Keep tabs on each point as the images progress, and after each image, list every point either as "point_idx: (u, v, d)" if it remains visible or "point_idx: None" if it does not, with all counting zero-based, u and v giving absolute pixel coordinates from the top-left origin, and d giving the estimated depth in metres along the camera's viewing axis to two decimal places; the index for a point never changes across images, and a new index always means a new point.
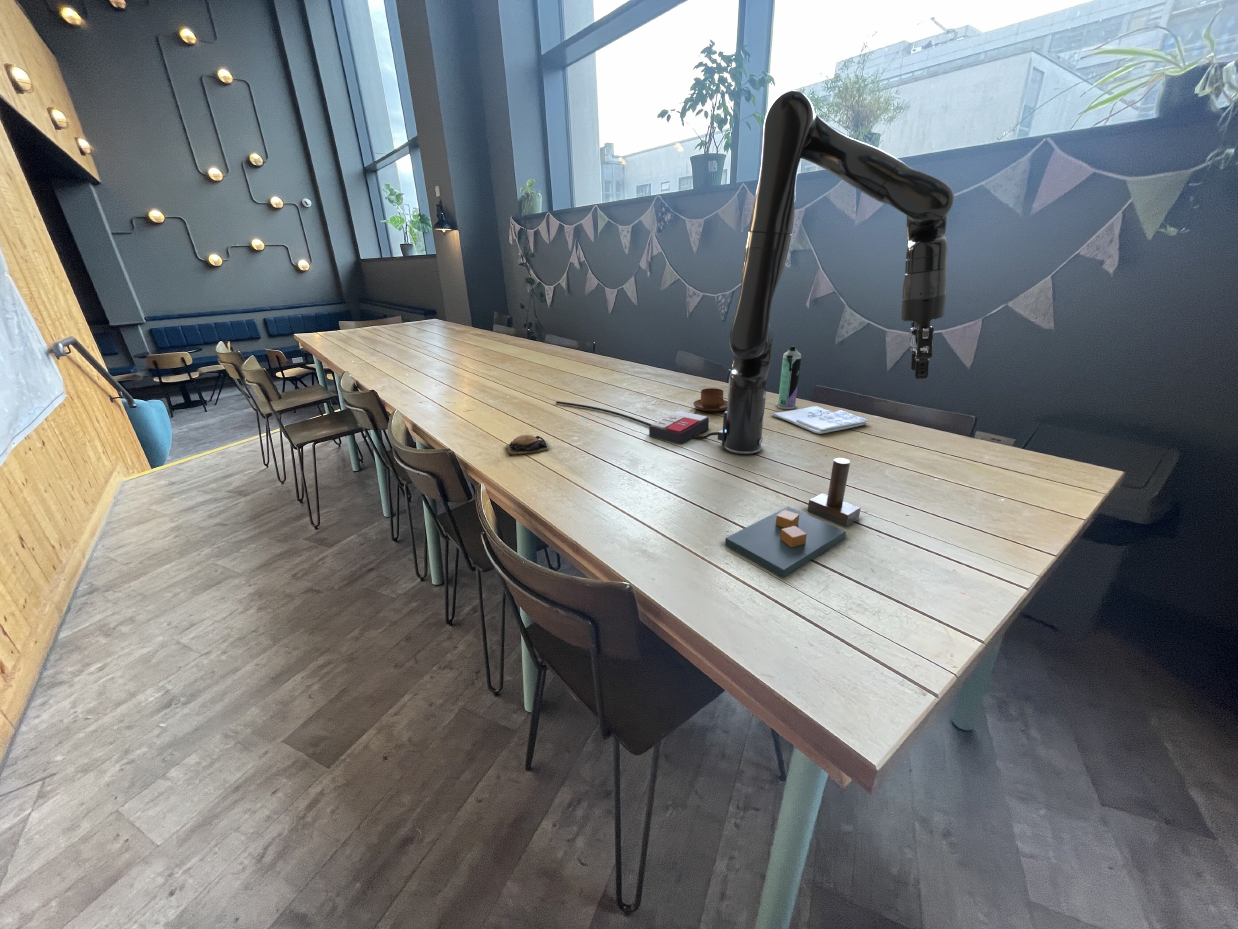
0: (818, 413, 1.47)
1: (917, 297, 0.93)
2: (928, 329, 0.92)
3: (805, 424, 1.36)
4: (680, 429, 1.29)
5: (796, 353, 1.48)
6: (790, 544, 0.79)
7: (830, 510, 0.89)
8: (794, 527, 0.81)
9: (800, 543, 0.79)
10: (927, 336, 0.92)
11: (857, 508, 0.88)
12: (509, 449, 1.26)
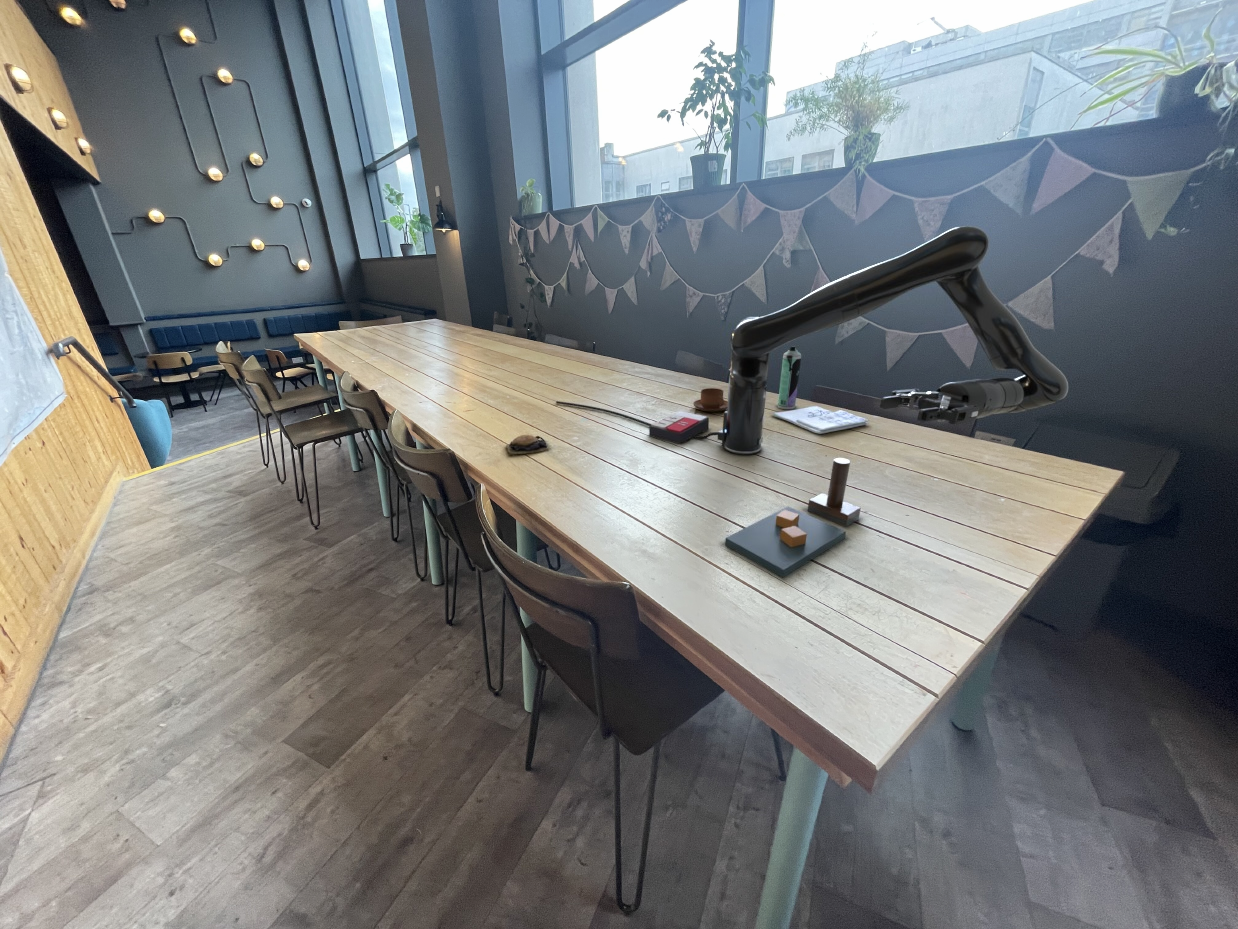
0: (818, 413, 1.47)
1: (987, 397, 0.86)
2: (977, 415, 0.83)
3: (805, 424, 1.36)
4: (680, 429, 1.29)
5: (796, 353, 1.48)
6: (790, 544, 0.79)
7: (830, 510, 0.89)
8: (794, 527, 0.81)
9: (800, 543, 0.79)
10: (972, 416, 0.82)
11: (857, 508, 0.88)
12: (509, 449, 1.26)
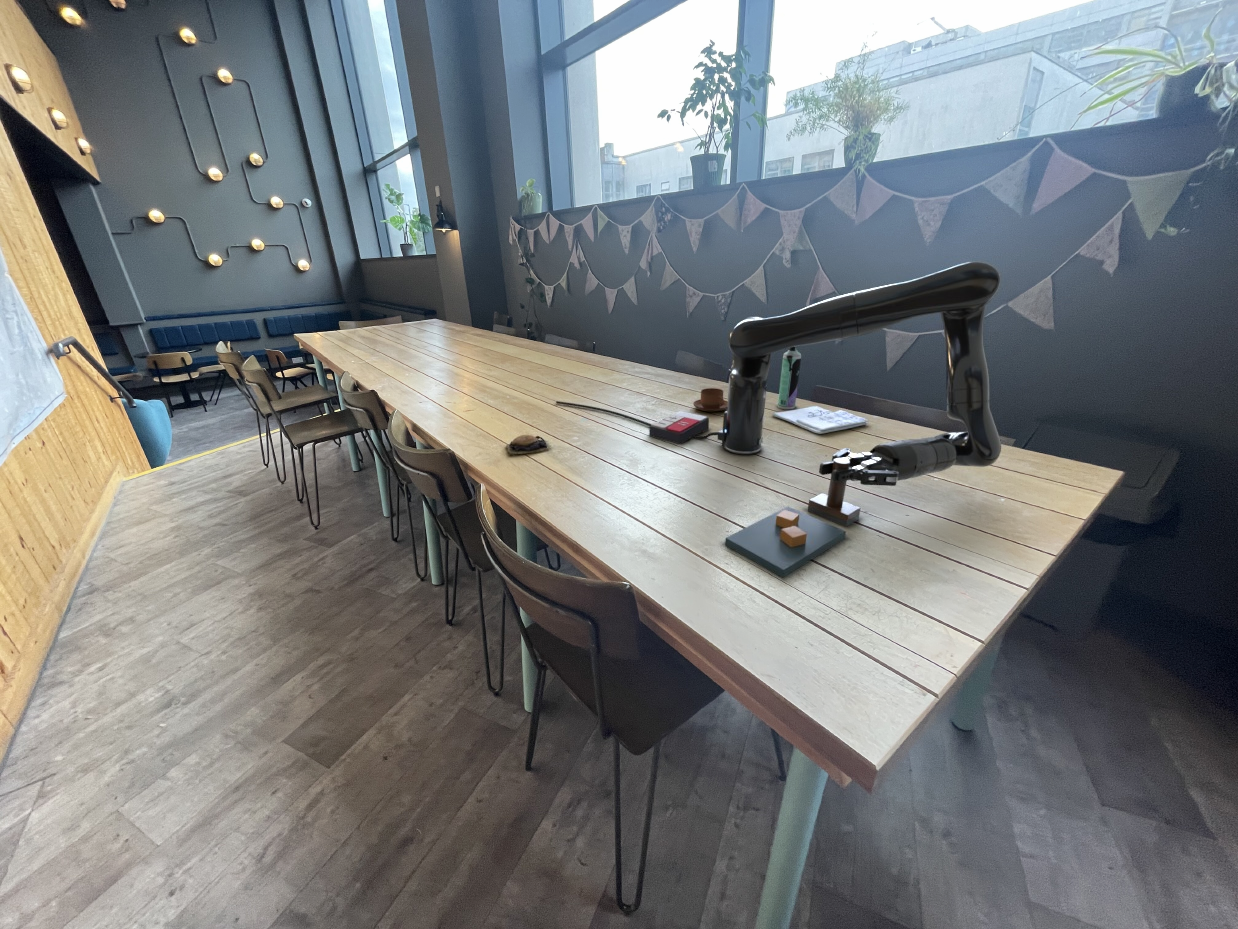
0: (818, 413, 1.47)
1: (918, 459, 0.87)
2: (896, 481, 0.83)
3: (805, 424, 1.36)
4: (680, 429, 1.29)
5: (796, 353, 1.48)
6: (790, 544, 0.79)
7: (830, 510, 0.89)
8: (794, 527, 0.81)
9: (800, 543, 0.79)
10: (888, 481, 0.84)
11: (857, 508, 0.88)
12: (509, 449, 1.26)
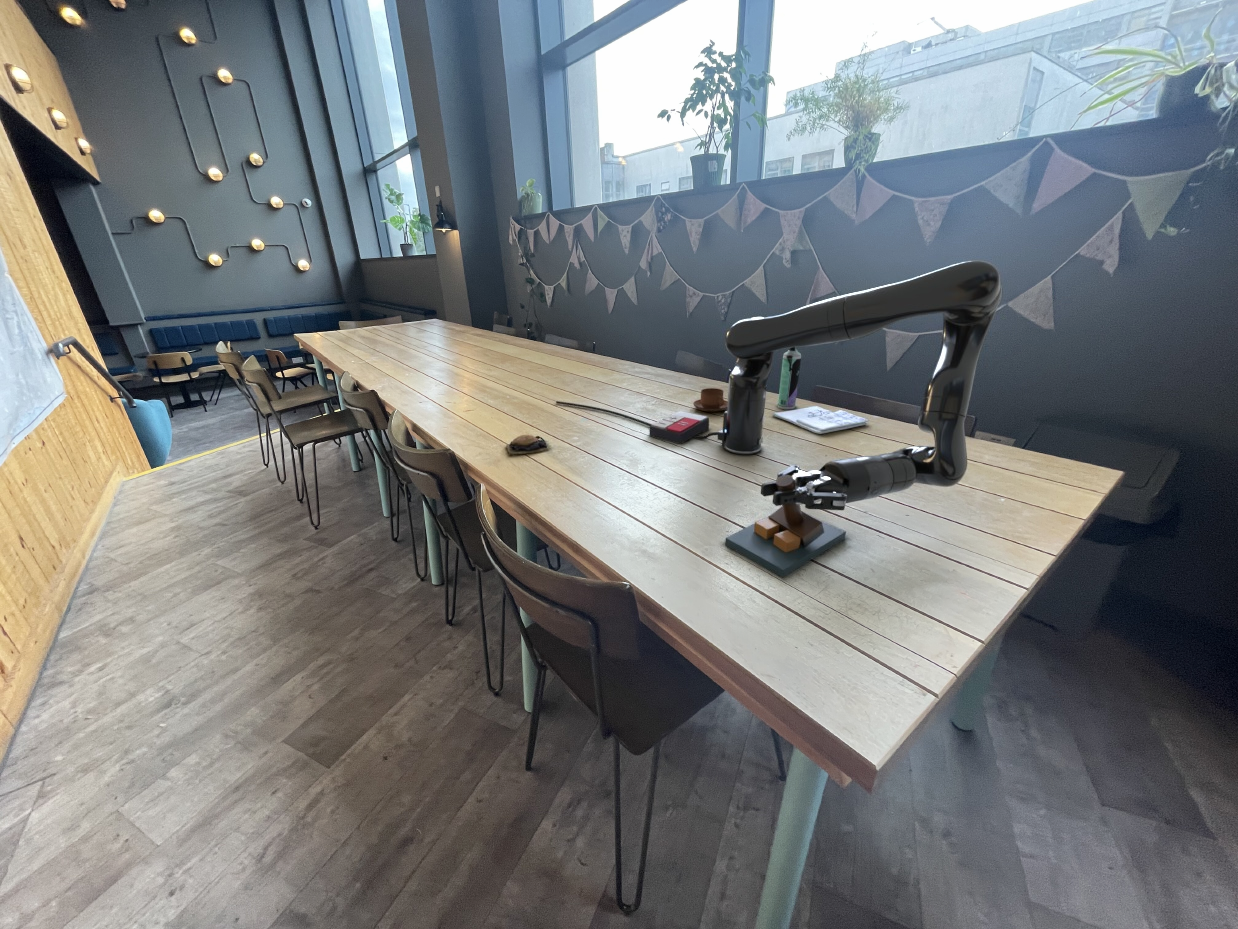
0: (818, 413, 1.47)
1: (872, 479, 0.77)
2: (844, 505, 0.74)
3: (805, 424, 1.36)
4: (680, 429, 1.29)
5: (796, 353, 1.48)
6: (784, 549, 0.78)
7: None
8: (787, 531, 0.80)
9: (794, 548, 0.78)
10: (835, 505, 0.74)
11: (817, 524, 0.78)
12: (509, 449, 1.26)
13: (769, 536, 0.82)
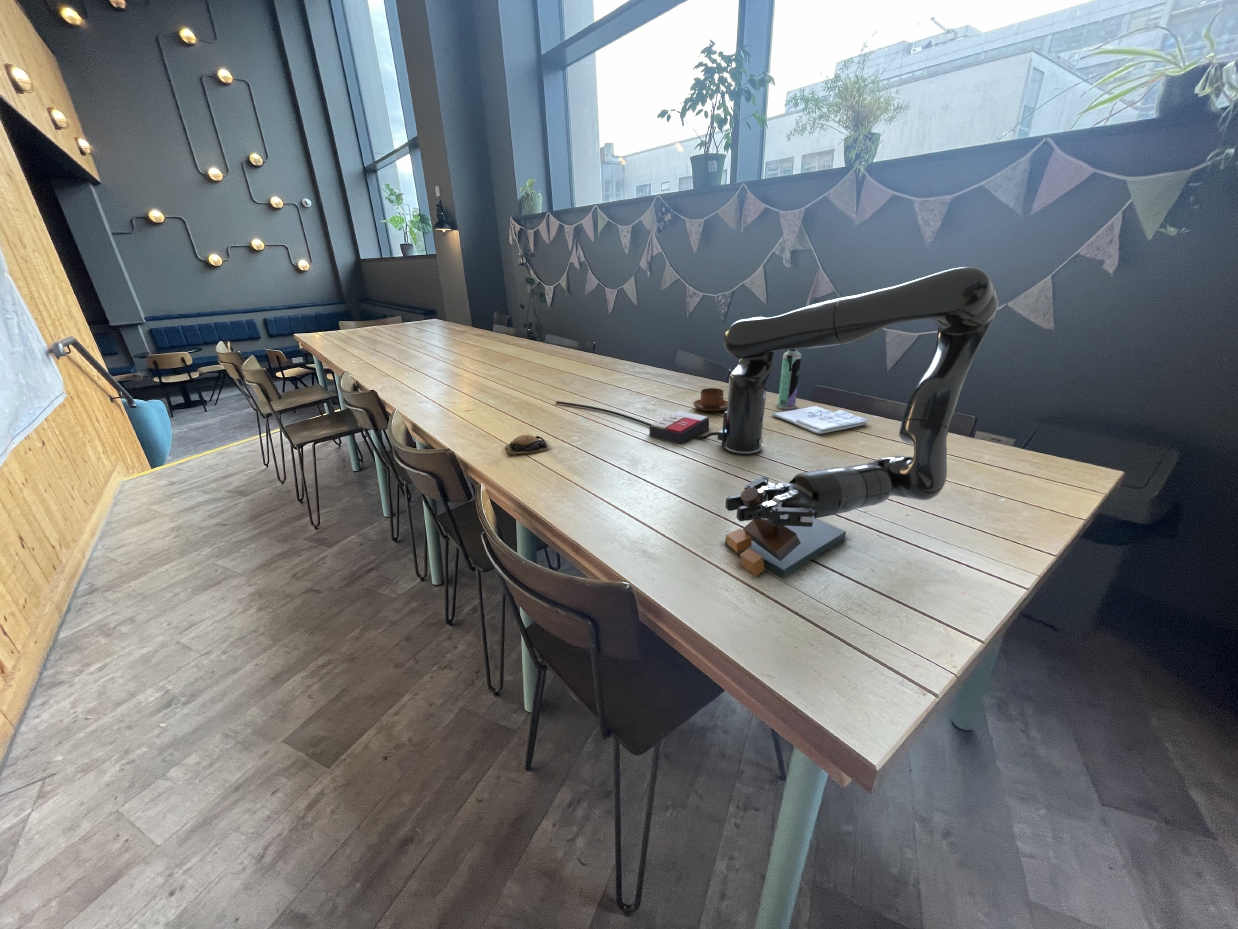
0: (818, 413, 1.47)
1: (843, 493, 0.73)
2: (812, 522, 0.69)
3: (805, 424, 1.36)
4: (680, 429, 1.29)
5: (796, 353, 1.48)
6: None
7: (761, 543, 0.76)
8: (742, 558, 0.75)
9: (762, 563, 0.74)
10: (802, 521, 0.69)
11: (791, 535, 0.73)
12: (509, 449, 1.26)
13: (740, 549, 0.78)
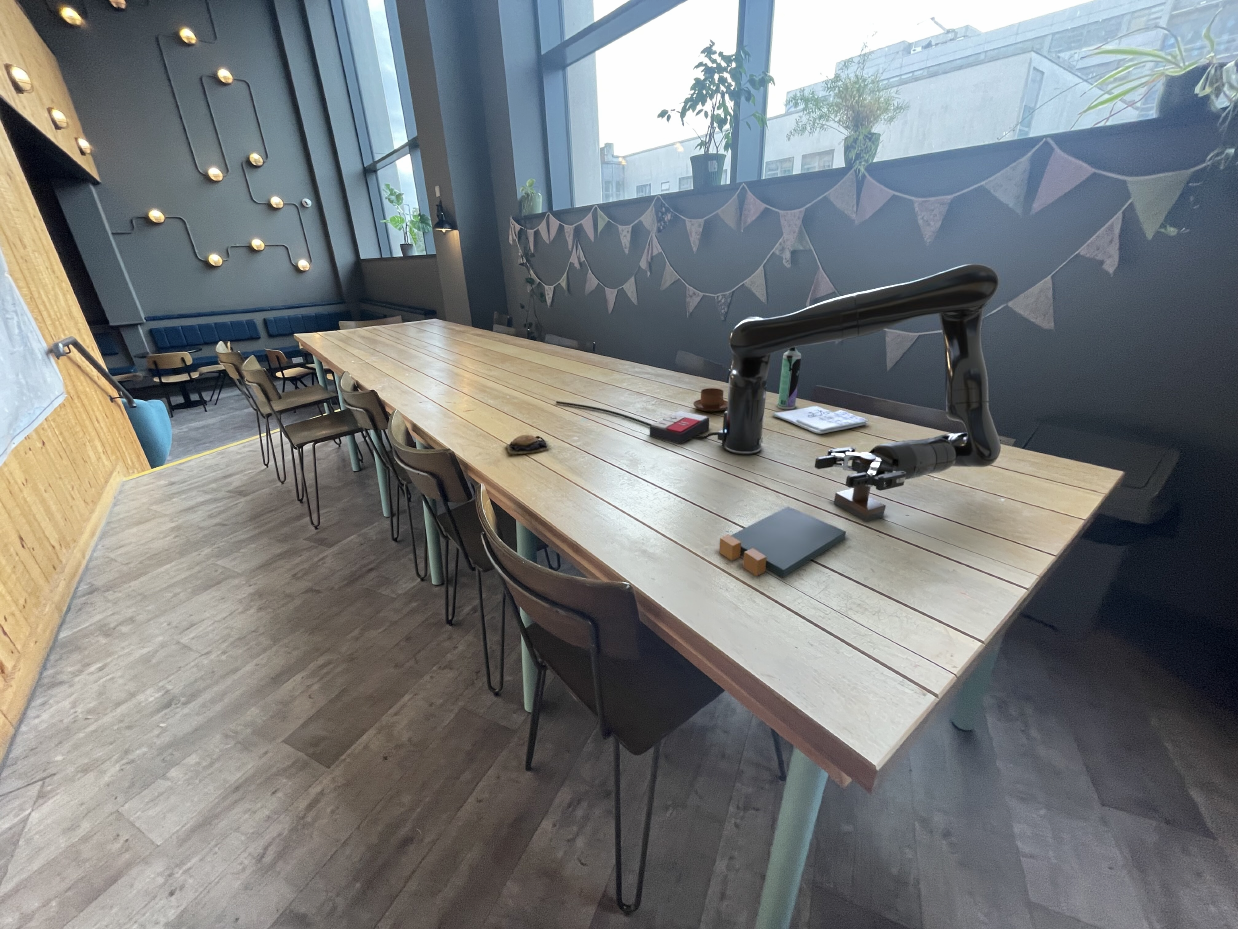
0: (818, 413, 1.47)
1: (918, 460, 0.87)
2: None
3: (805, 424, 1.36)
4: (681, 429, 1.28)
5: (796, 353, 1.48)
6: None
7: (853, 504, 0.91)
8: (746, 556, 0.75)
9: (764, 563, 0.74)
10: (899, 482, 0.83)
11: (882, 505, 0.89)
12: (509, 449, 1.26)
13: (738, 554, 0.79)
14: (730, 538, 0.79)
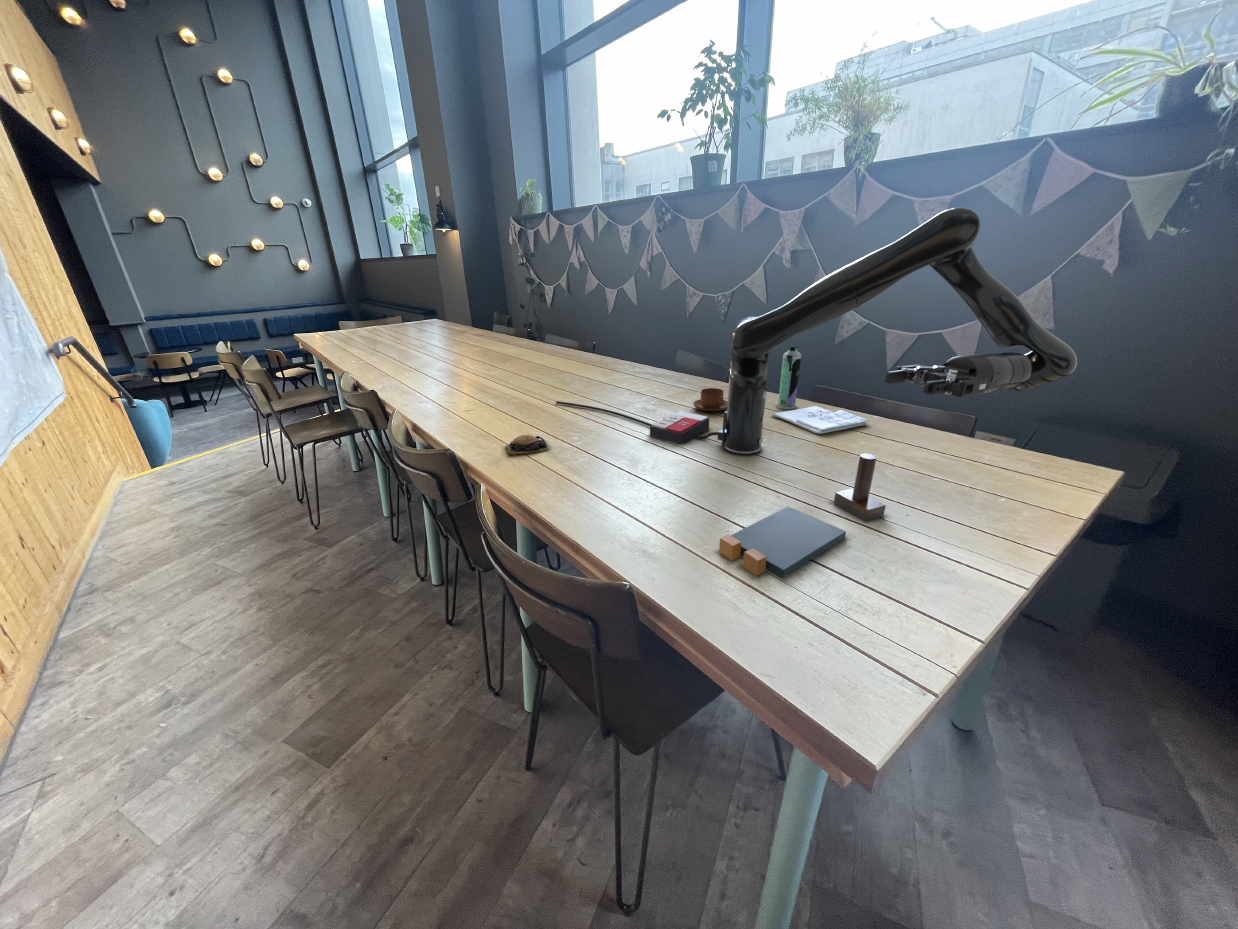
0: (818, 413, 1.47)
1: (995, 370, 0.84)
2: (984, 388, 0.81)
3: (805, 424, 1.36)
4: (681, 429, 1.28)
5: (796, 353, 1.48)
6: None
7: (853, 504, 0.91)
8: (746, 556, 0.75)
9: (764, 563, 0.74)
10: (979, 388, 0.80)
11: (882, 505, 0.89)
12: (509, 449, 1.26)
13: (738, 554, 0.79)
14: (730, 538, 0.79)
